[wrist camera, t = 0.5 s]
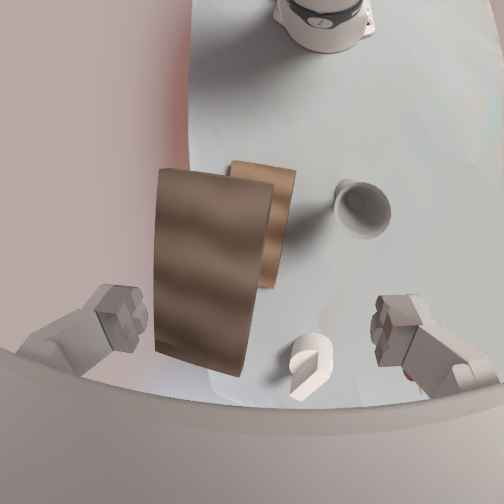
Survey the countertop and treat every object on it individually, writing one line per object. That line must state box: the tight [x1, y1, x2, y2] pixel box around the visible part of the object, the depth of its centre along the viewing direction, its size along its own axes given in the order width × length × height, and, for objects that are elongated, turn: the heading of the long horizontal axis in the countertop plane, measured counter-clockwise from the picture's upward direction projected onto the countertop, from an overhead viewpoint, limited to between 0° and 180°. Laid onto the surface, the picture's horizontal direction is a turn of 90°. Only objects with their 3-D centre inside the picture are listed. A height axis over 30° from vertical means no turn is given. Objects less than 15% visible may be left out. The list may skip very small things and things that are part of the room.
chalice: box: [334, 179, 391, 240], centre depth 42 cm, size 7×7×18 cm
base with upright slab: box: [289, 333, 333, 401], centre depth 57 cm, size 9×9×12 cm
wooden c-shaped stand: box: [154, 161, 296, 377], centre depth 43 cm, size 22×11×28 cm, turn 171°
